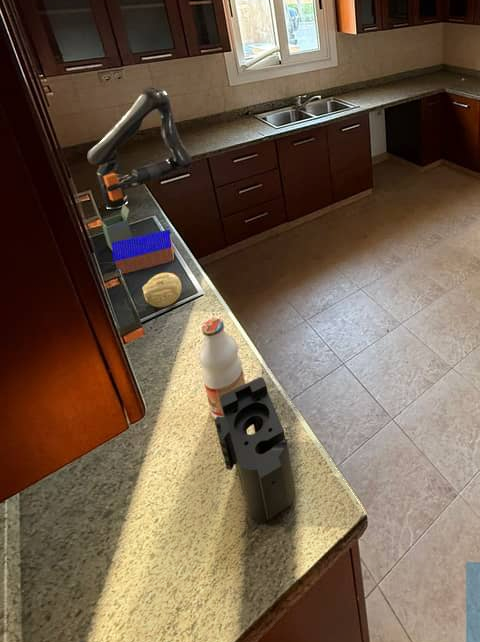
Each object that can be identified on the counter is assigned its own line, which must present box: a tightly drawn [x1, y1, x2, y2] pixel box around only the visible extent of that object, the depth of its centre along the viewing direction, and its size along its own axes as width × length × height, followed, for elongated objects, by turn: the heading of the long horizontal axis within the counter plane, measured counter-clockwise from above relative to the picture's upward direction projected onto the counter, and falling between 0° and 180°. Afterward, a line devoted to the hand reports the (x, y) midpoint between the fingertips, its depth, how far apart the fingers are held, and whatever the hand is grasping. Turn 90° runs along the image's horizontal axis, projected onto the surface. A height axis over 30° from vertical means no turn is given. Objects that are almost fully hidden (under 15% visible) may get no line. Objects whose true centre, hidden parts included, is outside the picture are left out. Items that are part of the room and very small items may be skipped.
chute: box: [101, 213, 133, 252], centre depth 184 cm, size 8×8×12 cm
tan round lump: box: [142, 272, 183, 308], centre depth 151 cm, size 12×12×11 cm
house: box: [112, 229, 175, 275], centre depth 174 cm, size 12×20×12 cm, turn 117°
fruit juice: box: [198, 317, 246, 420], centre depth 110 cm, size 9×9×28 cm
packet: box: [103, 173, 123, 201], centre depth 182 cm, size 4×3×11 cm
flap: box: [120, 204, 131, 220], centre depth 184 cm, size 8×4×1 cm
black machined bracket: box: [214, 376, 296, 526], centre depth 92 cm, size 12×21×22 cm, turn 34°
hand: (105, 188), depth 180 cm, fingers closed on packet, 3 cm apart
